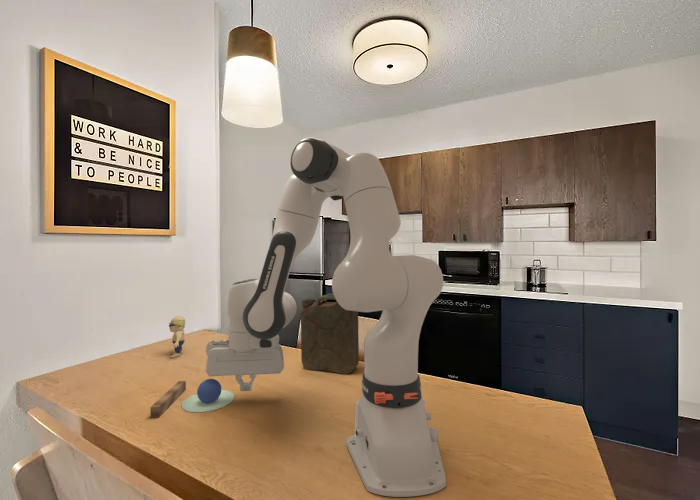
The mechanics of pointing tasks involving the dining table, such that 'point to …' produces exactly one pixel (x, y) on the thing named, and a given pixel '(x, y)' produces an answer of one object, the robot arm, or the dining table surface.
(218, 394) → the ball
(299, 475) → the dining table surface
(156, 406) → the brown bar
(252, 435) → the dining table surface
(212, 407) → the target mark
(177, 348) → the toy
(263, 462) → the dining table surface
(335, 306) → the canister
